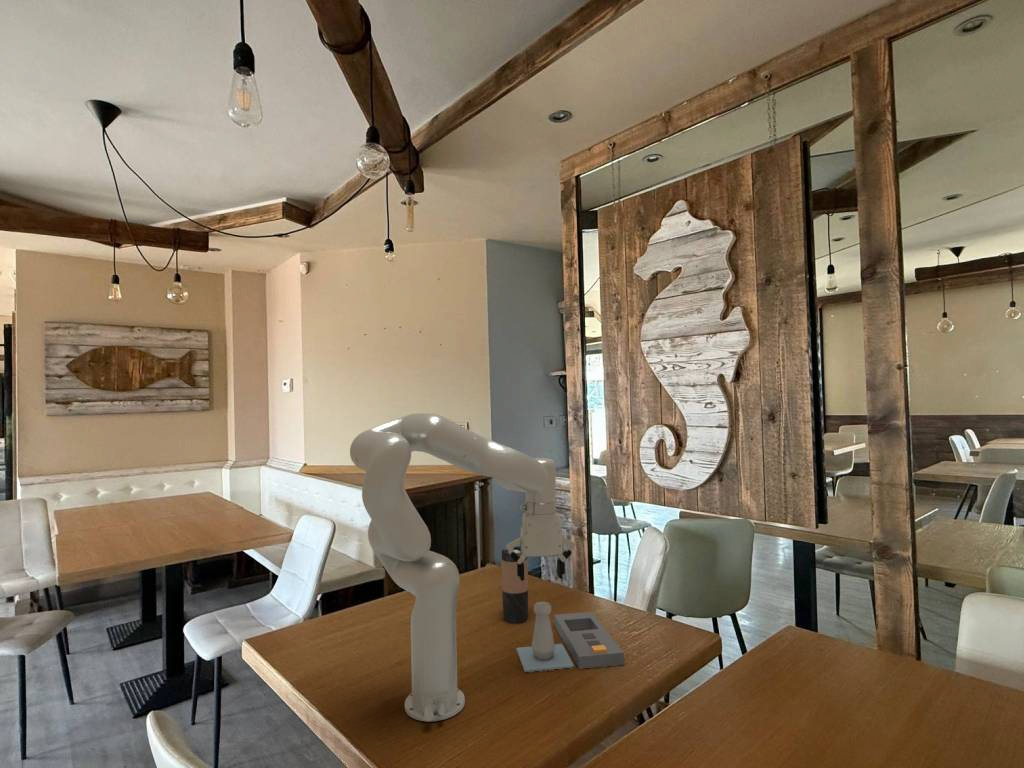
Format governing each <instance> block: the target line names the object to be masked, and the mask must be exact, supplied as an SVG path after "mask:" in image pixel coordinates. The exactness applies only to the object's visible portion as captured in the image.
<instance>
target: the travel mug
mask: <svg viewBox="0 0 1024 768" xmlns="http://www.w3.org/2000/svg"><path fill="white" fill-rule="evenodd" d="M513 550H514V552H515V553H516V554H517V555H518V554H519V553H520V552H521V550H520V546H516V547H514V548H513ZM523 564H524V580H523V581H521V579H520V577H519V576H517V562H516V561H515V560H514V559H513V558H512V557H511V555H510V553H509V552H508V550H507V549H502V550H501V594H502V596H501V598H502V615H503V621H504V622H505V623H508V624H512V625H513V624H515V625H516V624H523V623H525V622H527V621H528V619H529V618H528V617H529V581H528V580H529V577H528V576H529V574H528V573H529V572H528V571H529V570H528V557H526V558H525V560H524V561H523Z"/></svg>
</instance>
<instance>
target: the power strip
mask: <svg viewBox="0 0 1024 768" xmlns="http://www.w3.org/2000/svg"><path fill="white" fill-rule="evenodd" d="M553 617H554V619H553V621H554V623H553V624H554V627H555V629H556V631H557V633H558V635H559V637H560V638H561V640H562V639H563V640H562V642H563V643H564V645H565V646H567V647H566V648H567V651H568V652H569V651H570V652H569V654H570V653H571V654H570V655H572V656H571V657H572V659H573V658H574V659H573V661H574V660H575V661H574V663H575V662H576V663H575V664H576V666H577V665H578V666H577V667H579V668H578V669H581V670H583V669H582V668H591V669H593V668H592V667H601V668H606V667H605V666H612V667H618V666H617V665H622V666H624V665H625V659H624V658H625V653H624V651H623V650H622V649H621V647H620V646H619V645H618V643H617V642H616V641H615V640H614V638H613V637H612V635H611V634H610V633H609V632H608V630H607V629H606V628H605V627H604V625H603V624H602V622H600V620H599V619H598V618H597V616H596V615H595V614H594V613H593V611H585V612H574V613H571V612H570V613H560V614H554V615H553ZM580 629H583V630H580ZM571 630H572V631H571ZM603 666H604V667H603Z"/></svg>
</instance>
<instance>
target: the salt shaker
mask: <svg viewBox="0 0 1024 768" xmlns="http://www.w3.org/2000/svg"><path fill="white" fill-rule="evenodd" d="M533 612H534V614H536V616H535V620H534V621H535V622H534V626H533V628H534V629H533V634H532V641H531V646H532V650H533V653H534V655H535V657H536V658H537V659H539V660H548V659H550V658H552V656H553V653H554V650H555V644H556V643H555V638H554V635H553V629H552V623H551V621H550V620H551V619H550V614H551V613H552V605H551V604H550V603H549V602H548V601H537V602H536V603H534V605H533Z"/></svg>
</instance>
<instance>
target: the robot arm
mask: <svg viewBox="0 0 1024 768" xmlns="http://www.w3.org/2000/svg"><path fill="white" fill-rule="evenodd" d="M412 452H420V453H421V452H422V453H425V454H428V455H431V456H432V457H435V458H436V459H439V460H442V461H443V462H446V463H448V464H451V465H453V466H455V467H457V468H458V469H461V470H463V471H465V472H467V473H472V474H474V475H479V476H483V477H490V478H493V479H494V481H495V482H496V484H497V485H498V486H499V487H501V488H502V489H505V490H509V491H514V492H520V493H525V500H524V502H523V503H521V504H519V510H521V511H522V510H523V511H525V512H524V513H523V514H522V519H521V523H520V524H521V526H520V534H519V537H518V538H516V539H514V540H512V541H510V542H509V543H507V544H506V545H505V547H506V550H508V552H509V553H510V555H511V557H512V558H513V559H514V560H515V561H516V562H517V576H519V577H520V579H521V581H523V580H524V564H523V561H524V560H525V558H526V557H527V558H538V557H539V558H543V557H546V558H547V557H558V559H557V560H556V576H557V577H558V578H559V580H562V579H563V578H564V575H565V574H566V572H565V571H566V569H565V567H566V566H565V562H567V559H569V557H570V556H571V555H572V554H573V551H574V550H575V549H574V548H575V547H576V543H575V542H574V541H573V540H570V539H568V538H566V537H564V536H563V531H562V524H561V517H560V514H559V513H557V507H556V506H557V497H556V496H557V494H556V492H557V491H556V489H557V485H556V484H557V482H556V481H557V480H556V477H557V476H556V471H557V470H556V467H557V465H556V462H555V461H554V460H553V459H551V458H547V457H535V458H533V457H531V456H529V455H528V454H526V453H524V452H521V451H519V450H516V449H514V448H511V447H510V446H507V445H504V444H502V443H499V442H497V441H495V440H492V439H489V438H486V437H483V436H482V435H479V434H477V433H476V432H474V431H471V430H470V429H468V428H466V427H464V426H462V425H460V424H458V423H456V422H454V421H452V420H450V419H449V418H446V417H445V416H442V415H440V414H437V413H411V414H408V415H405V416H401V417H399V418H397V419H394V420H390V421H388V422H385V423H383V424H381V425H377V426H374V427H372V428H369V429H367V430H364V431H362V432H360V433H359V434H358V435H356V437H354V438H353V440H352V442H351V444H350V448H349V456H350V459H351V461H352V463H353V464H354V465H355V467H357V468H359V469H360V470H363V471H365V474H364V478H363V482H362V488H361V500H362V503H363V507H364V509H365V511H366V513H367V514H368V516H369V518H370V521H369V524H368V528H367V538H368V542H369V545H370V548H371V549H372V551H373V552H374V554H375V555H376V557H377V559H378V560H379V561H380V563H381V564H382V566H383V567H384V569H385V571H387V572H386V573H387V574H388V575H389V576H390V578H391V579H392V581H393V582H394V583H395V584H396V585H397V586H399V588H401V589H402V590H404V591H407V592H408V593H411V594H412V595H413V596H415V600H414V601H415V602H414V605H413V609H412V612H411V617H410V645H411V646H410V648H411V649H410V652H411V655H410V656H411V658H410V659H411V661H410V663H411V693H409V695H408V696H406V699H405V700H404V711H405V713H406V714H407V716H409V717H410V718H412V719H414V720H417V721H420V722H439V721H445V720H447V719H450V718H453V717H454V716H456V715H457V714H459V713H460V712H461V711H462V710H463V708H464V707H465V703H466V699H465V694H464V692H463V691H462V690H460V689H459V688H458V660H457V657H458V656H457V654H458V653H457V650H458V649H457V602H458V601H457V600H458V595H459V590H460V589H459V588H460V583H461V582H460V573H459V569H458V568H457V565H456V564H455V563H454V562H453V561H452V560H451V559H450V558H449V557H447V556H445V555H443V554H440V553H438V552H435V551H432V550H430V549H431V546H432V545H431V543H432V538H431V532H430V530H429V527H428V526H427V525H426V523H425V521H424V520H423V518H422V517H421V515H420V514H419V512H418V510H417V508H416V507H415V506H414V504H413V502H412V501H411V498H410V496H409V494H408V493H407V491H406V488H405V479H406V475H407V472H408V468H409V466H410V463H411V460H412ZM563 544H565V545H566V546H567V548H566V549H565V550H564V551H563V549H564V547H563ZM514 547H520V550H521V552H520V553H519V554H518V555H517V554H516V553H515V552H514V550H513V548H514Z"/></svg>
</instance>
